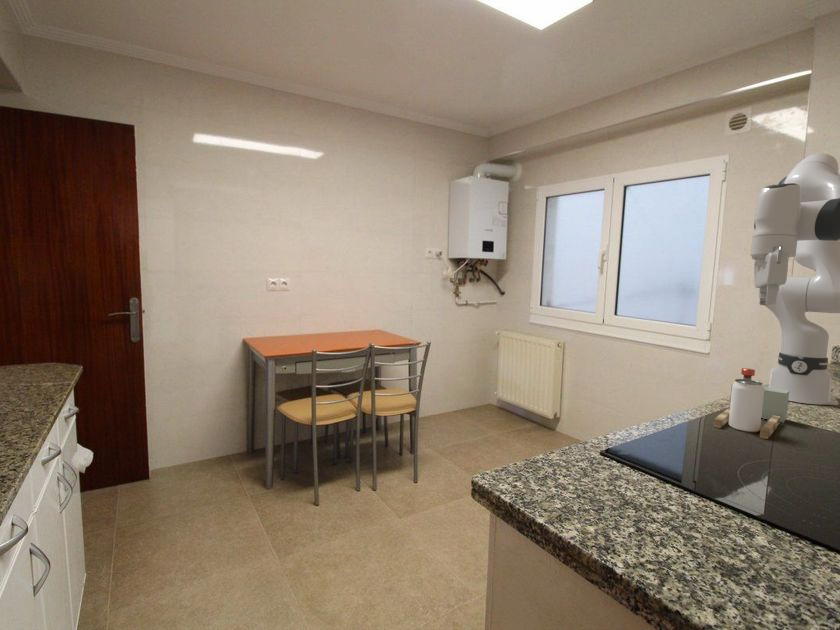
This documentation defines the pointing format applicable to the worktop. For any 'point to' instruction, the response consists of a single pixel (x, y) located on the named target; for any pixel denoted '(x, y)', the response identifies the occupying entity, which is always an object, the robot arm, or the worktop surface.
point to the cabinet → (774, 403)
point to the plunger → (747, 373)
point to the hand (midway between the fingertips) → (766, 305)
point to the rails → (764, 431)
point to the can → (746, 405)
